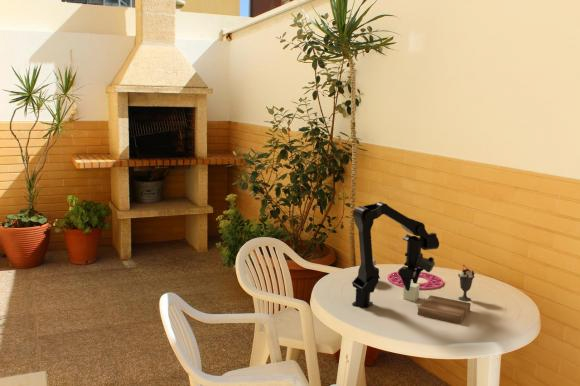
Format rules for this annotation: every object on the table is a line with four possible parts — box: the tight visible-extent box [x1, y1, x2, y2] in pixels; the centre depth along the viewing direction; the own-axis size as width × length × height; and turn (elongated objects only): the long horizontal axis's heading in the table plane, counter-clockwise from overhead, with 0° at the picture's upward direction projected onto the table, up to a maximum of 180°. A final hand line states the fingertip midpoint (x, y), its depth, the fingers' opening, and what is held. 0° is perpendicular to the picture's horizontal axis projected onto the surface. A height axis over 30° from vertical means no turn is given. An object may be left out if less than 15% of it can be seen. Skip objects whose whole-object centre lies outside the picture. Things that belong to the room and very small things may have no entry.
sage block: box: [402, 282, 420, 302], centre depth 234 cm, size 5×5×6 cm
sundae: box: [457, 264, 476, 302], centre depth 234 cm, size 7×7×15 cm
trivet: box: [386, 270, 445, 291], centre depth 258 cm, size 25×25×1 cm
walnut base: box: [417, 294, 472, 325], centre depth 220 cm, size 16×16×3 cm
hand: (411, 287), depth 234 cm, fingers open, 9 cm apart
